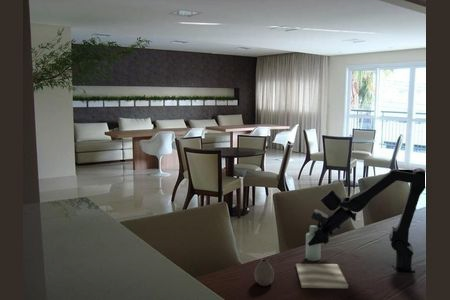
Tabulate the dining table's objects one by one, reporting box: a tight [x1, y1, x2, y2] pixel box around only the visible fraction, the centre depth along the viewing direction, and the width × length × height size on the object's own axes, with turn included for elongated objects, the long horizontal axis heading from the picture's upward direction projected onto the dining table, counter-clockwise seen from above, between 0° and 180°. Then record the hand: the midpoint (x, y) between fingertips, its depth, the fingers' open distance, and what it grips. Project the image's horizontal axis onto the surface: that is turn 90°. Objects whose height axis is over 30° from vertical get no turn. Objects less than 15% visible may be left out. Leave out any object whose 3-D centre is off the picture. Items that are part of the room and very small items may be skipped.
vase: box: [254, 258, 275, 287], centre depth 144 cm, size 7×7×9 cm
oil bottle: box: [305, 224, 322, 262], centre depth 166 cm, size 6×6×14 cm
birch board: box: [295, 263, 349, 289], centre depth 149 cm, size 18×16×1 cm
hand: (309, 242), depth 166 cm, fingers open, 6 cm apart
